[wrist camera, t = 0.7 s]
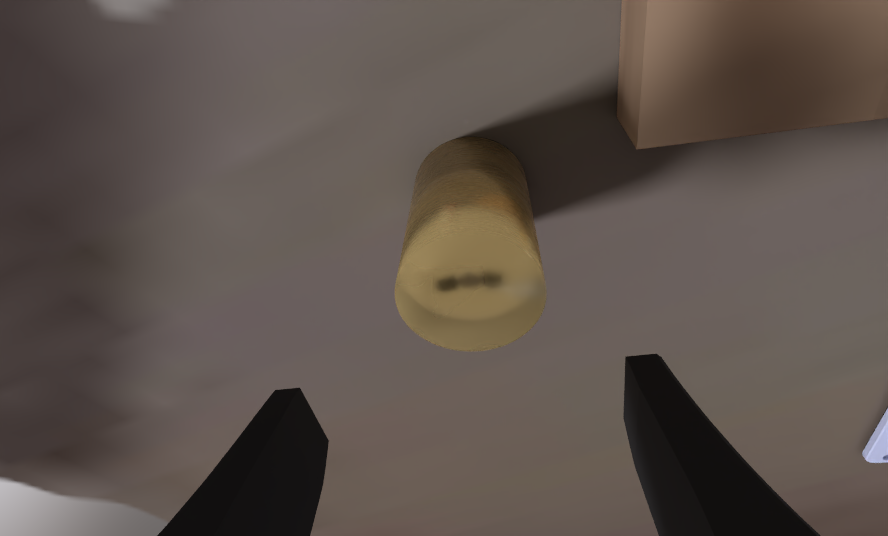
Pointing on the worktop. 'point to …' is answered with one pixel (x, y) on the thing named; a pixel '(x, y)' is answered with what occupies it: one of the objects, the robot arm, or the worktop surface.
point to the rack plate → (748, 67)
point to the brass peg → (470, 249)
